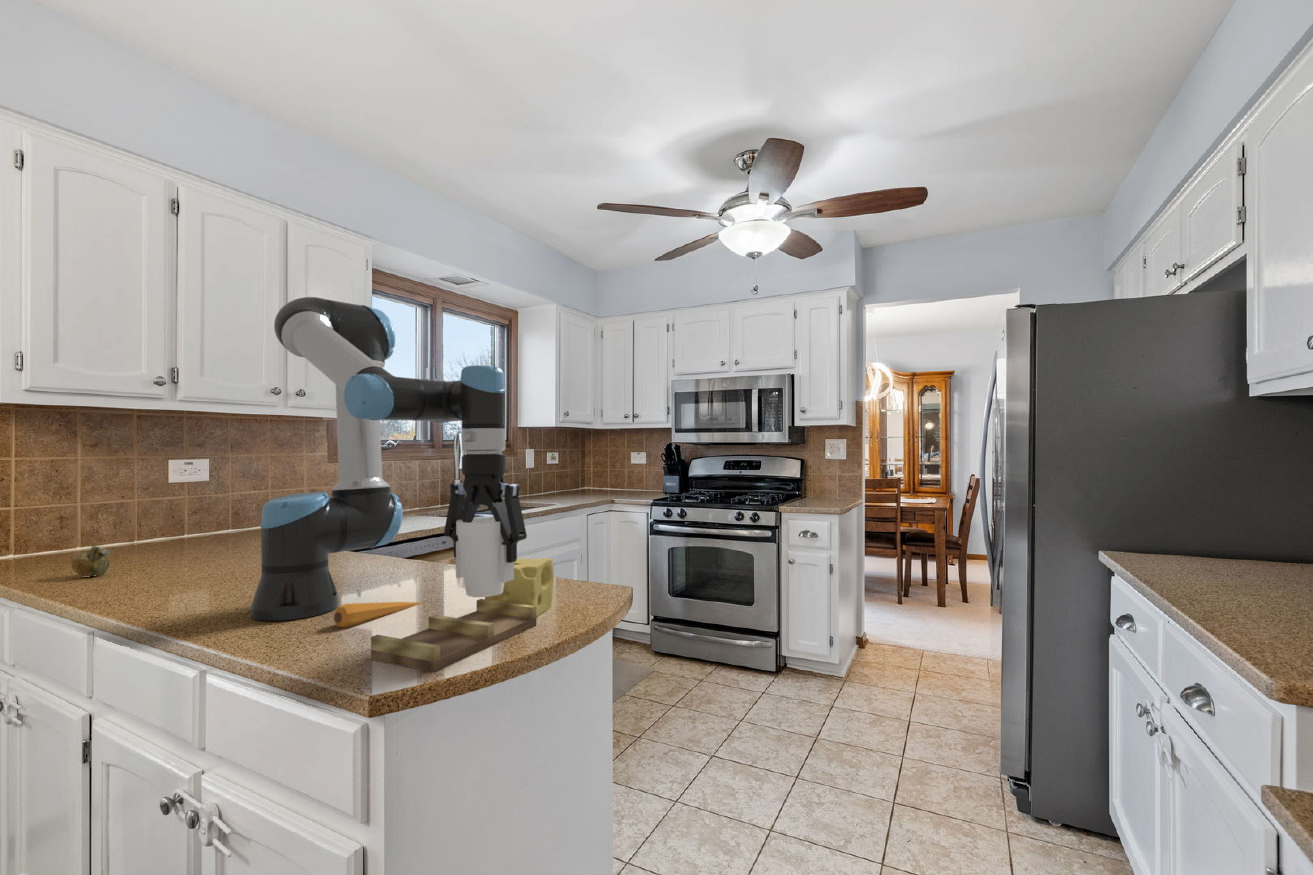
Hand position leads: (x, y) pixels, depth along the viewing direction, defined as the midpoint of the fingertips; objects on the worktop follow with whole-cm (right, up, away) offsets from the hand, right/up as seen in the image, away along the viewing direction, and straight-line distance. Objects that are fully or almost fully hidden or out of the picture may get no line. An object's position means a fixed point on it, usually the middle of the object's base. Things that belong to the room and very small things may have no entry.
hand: (484, 578), depth 108 cm
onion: (-115, -11, +48) cm, 125 cm away
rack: (-3, -9, -5) cm, 11 cm away
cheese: (+3, -10, +12) cm, 16 cm away
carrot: (-23, -10, +11) cm, 27 cm away
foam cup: (0, -3, 0) cm, 3 cm away
